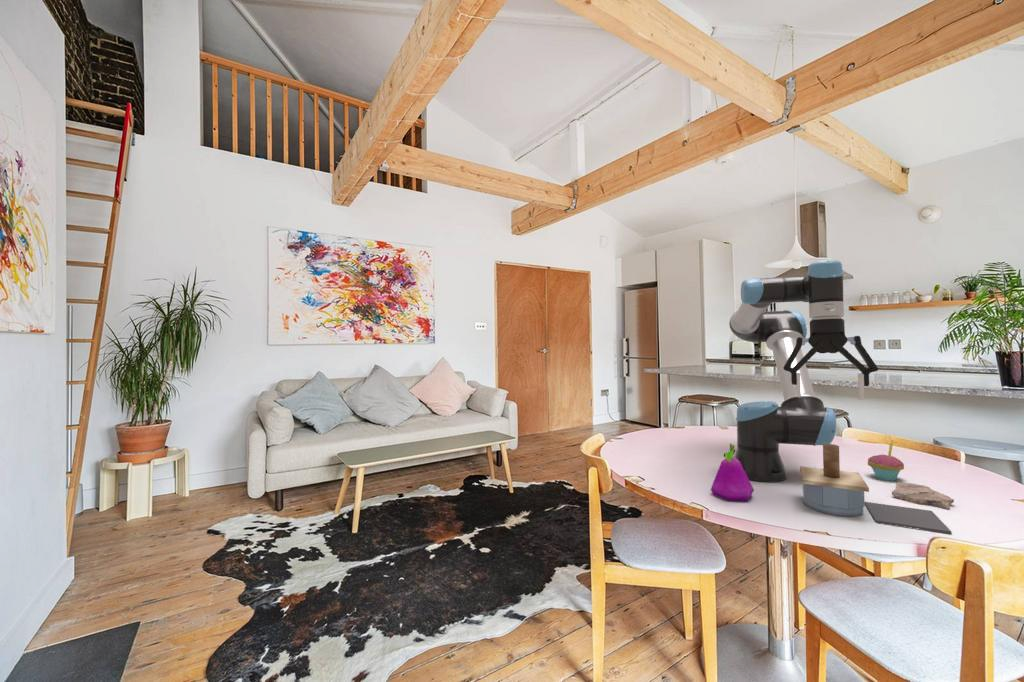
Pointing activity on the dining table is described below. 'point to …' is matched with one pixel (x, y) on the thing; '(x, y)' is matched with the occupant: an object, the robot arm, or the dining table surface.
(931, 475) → the dining table surface
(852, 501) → the bowl
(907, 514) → the mat
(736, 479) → the purple eggplant
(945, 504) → the stone
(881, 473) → the cupcake
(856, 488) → the board
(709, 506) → the dining table surface
